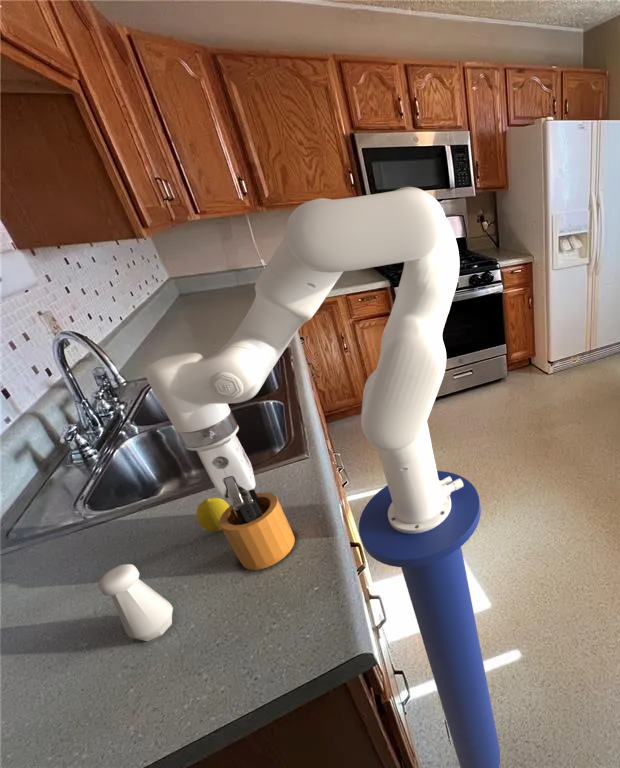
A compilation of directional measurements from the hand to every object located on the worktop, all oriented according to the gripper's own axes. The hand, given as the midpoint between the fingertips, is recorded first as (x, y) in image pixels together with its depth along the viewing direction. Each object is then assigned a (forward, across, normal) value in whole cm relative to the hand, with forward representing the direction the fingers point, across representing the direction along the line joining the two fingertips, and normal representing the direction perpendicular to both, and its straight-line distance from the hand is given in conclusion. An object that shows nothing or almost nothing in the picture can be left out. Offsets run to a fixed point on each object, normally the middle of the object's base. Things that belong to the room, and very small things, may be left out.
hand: (251, 512), depth 74 cm
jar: (+9, 0, 0) cm, 9 cm away
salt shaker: (+9, -6, +17) cm, 20 cm away
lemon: (+9, +12, +7) cm, 17 cm away
